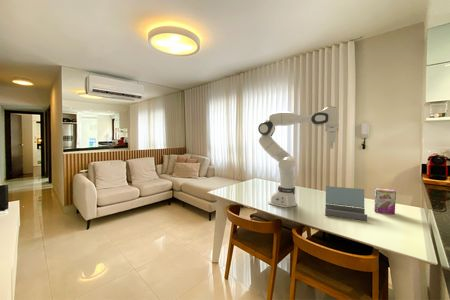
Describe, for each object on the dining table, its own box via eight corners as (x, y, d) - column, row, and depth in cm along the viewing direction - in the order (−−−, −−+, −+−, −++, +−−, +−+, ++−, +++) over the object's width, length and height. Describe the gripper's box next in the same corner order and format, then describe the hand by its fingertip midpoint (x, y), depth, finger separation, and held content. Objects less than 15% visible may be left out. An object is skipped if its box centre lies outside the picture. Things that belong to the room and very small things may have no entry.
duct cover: (325, 186, 152) (325, 186, 153) (325, 203, 150) (325, 203, 151) (364, 189, 141) (364, 189, 141) (364, 208, 139) (364, 208, 140)
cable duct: (325, 215, 140) (325, 209, 139) (325, 209, 150) (325, 203, 150) (367, 221, 129) (367, 215, 128) (364, 214, 139) (364, 208, 139)
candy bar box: (374, 212, 143) (375, 189, 141) (374, 209, 147) (374, 187, 146) (395, 215, 137) (396, 191, 136) (393, 212, 141) (394, 189, 140)
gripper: (327, 129, 157) (327, 146, 158) (326, 129, 139) (326, 149, 140) (336, 128, 154) (336, 146, 155) (337, 128, 136) (336, 149, 137)
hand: (331, 148), depth 147 cm, fingers open, 8 cm apart
